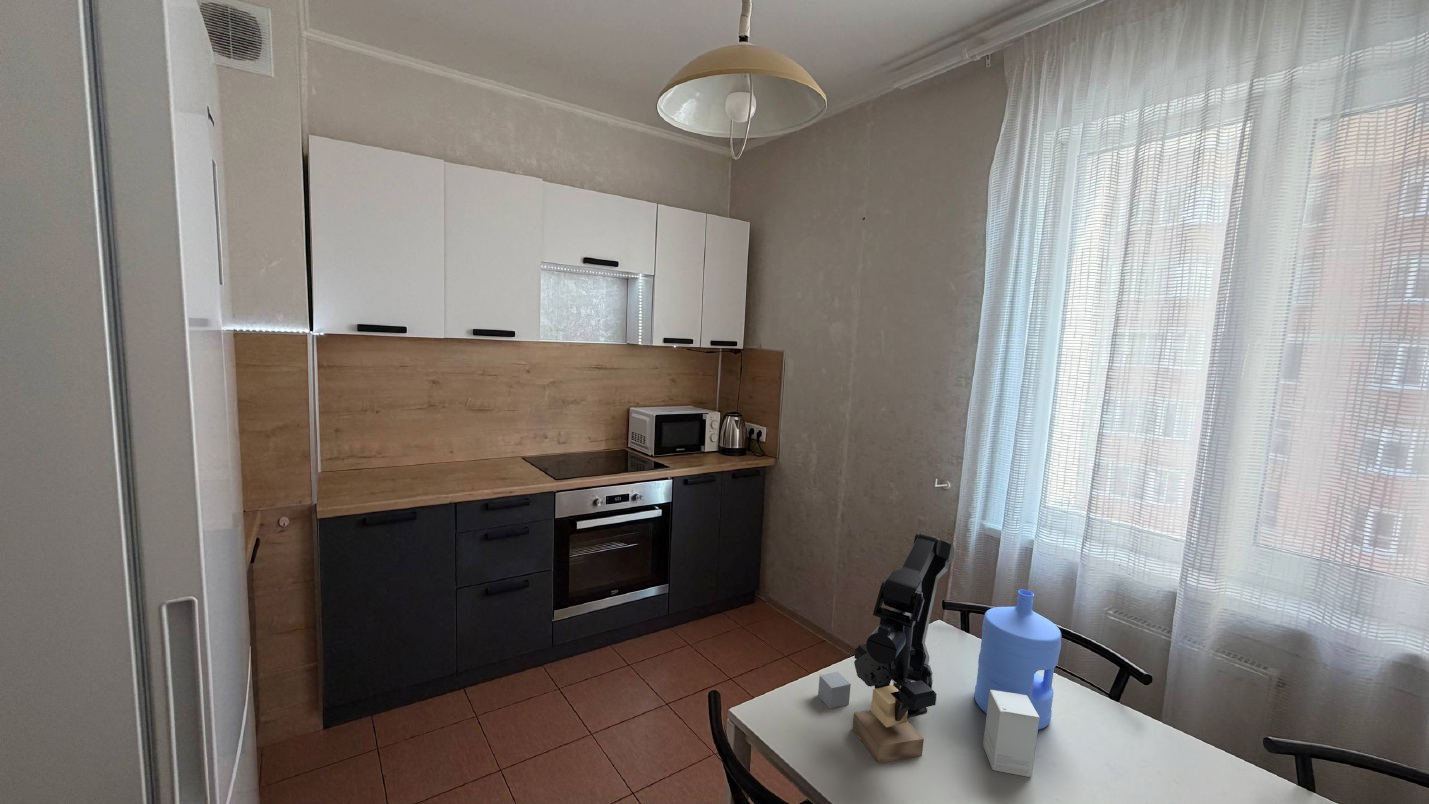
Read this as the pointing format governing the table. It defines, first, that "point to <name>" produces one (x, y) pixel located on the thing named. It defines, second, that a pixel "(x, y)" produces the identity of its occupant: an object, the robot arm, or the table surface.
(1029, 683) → the water jug
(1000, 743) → the supplement box
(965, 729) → the table surface
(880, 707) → the oak cube
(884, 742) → the walnut block
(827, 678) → the grey cube
